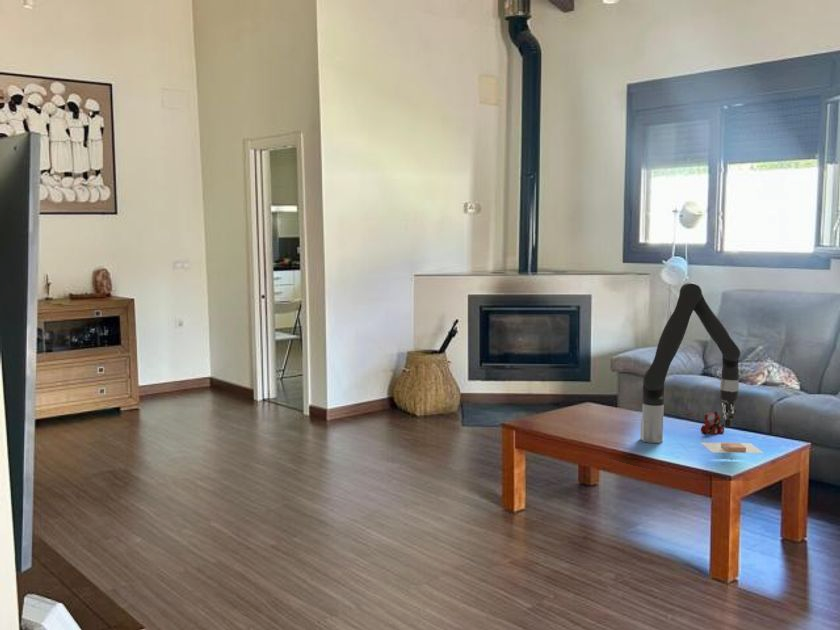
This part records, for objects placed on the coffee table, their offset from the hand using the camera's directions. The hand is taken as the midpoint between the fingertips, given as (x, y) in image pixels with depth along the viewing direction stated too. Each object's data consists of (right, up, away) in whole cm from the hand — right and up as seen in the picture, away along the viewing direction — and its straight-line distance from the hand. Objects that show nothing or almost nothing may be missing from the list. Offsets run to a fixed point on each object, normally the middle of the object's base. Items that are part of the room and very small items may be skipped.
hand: (727, 427), depth 350 cm
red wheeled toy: (+2, -7, +23) cm, 24 cm away
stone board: (0, -9, -5) cm, 10 cm away
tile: (0, -7, -3) cm, 8 cm away
